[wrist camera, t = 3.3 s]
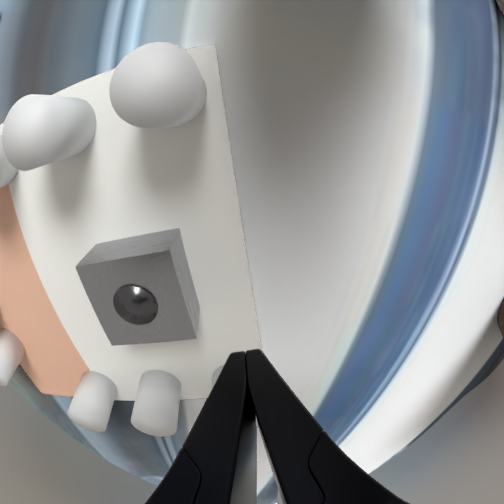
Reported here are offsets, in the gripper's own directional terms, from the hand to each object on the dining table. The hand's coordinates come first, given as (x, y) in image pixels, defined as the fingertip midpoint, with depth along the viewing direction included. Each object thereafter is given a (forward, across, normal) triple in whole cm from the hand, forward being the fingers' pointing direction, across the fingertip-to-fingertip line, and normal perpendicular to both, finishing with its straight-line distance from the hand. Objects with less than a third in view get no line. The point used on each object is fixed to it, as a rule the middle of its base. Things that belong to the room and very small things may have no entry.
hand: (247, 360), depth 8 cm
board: (+7, +10, 0) cm, 12 cm away
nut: (+6, +4, 0) cm, 8 cm away
